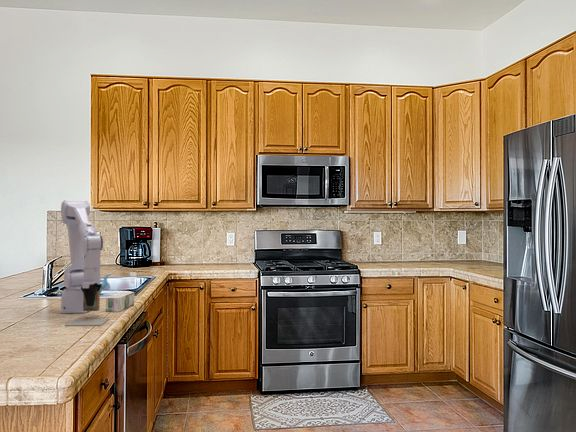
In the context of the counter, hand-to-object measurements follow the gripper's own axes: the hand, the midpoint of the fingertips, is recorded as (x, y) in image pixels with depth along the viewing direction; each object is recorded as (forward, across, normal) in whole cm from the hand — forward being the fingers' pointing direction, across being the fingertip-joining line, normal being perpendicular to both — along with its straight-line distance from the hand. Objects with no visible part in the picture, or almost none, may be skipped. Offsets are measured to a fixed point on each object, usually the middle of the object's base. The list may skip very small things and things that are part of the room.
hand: (91, 305), depth 175 cm
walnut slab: (+2, 0, 0) cm, 2 cm away
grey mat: (+5, -8, -1) cm, 9 cm away
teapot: (+6, +53, +17) cm, 56 cm away
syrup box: (+2, +26, -7) cm, 27 cm away
